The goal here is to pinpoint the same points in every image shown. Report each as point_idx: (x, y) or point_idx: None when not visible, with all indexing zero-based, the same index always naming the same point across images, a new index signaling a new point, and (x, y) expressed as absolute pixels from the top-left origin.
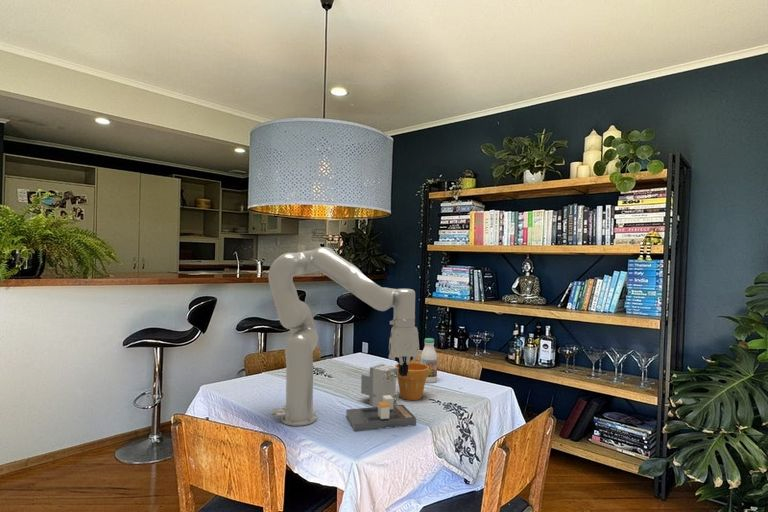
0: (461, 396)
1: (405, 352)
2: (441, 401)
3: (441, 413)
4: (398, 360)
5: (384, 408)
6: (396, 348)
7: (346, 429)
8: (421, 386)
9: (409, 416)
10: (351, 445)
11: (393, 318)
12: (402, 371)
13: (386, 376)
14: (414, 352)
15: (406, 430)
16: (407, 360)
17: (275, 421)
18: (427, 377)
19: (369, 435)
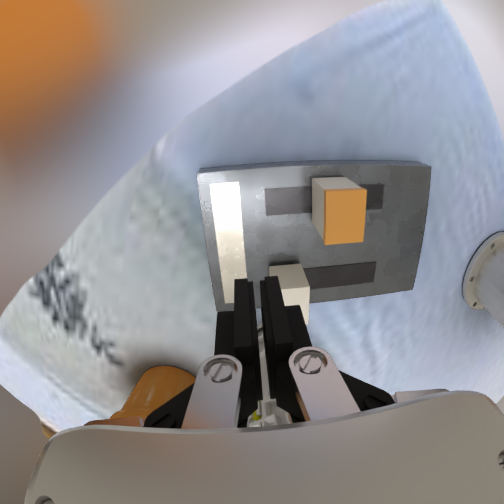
0: (46, 357)
1: (305, 490)
2: (89, 343)
3: (93, 260)
4: (348, 394)
5: (346, 187)
6: (501, 497)
7: (433, 183)
8: (136, 394)
9: (220, 191)
10: (441, 72)
11: None
12: (282, 301)
13: (280, 412)
14: (100, 475)
15: (249, 125)
16: (227, 396)
17: None
18: None
19: (386, 117)
